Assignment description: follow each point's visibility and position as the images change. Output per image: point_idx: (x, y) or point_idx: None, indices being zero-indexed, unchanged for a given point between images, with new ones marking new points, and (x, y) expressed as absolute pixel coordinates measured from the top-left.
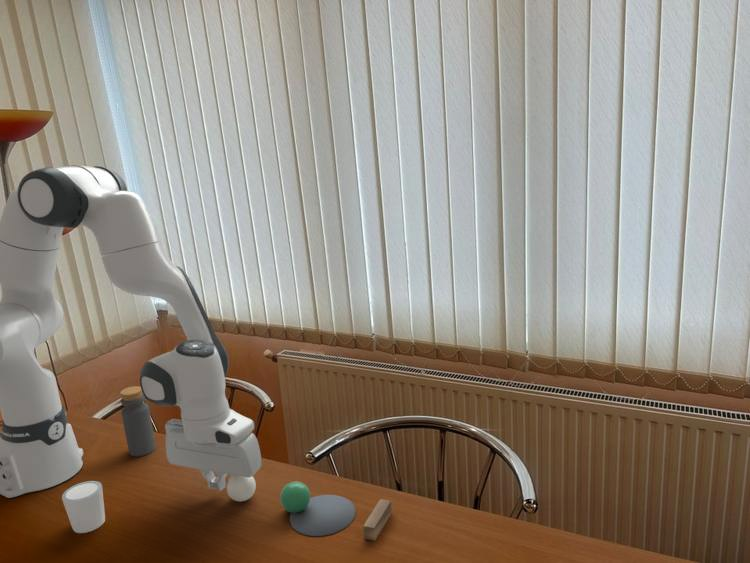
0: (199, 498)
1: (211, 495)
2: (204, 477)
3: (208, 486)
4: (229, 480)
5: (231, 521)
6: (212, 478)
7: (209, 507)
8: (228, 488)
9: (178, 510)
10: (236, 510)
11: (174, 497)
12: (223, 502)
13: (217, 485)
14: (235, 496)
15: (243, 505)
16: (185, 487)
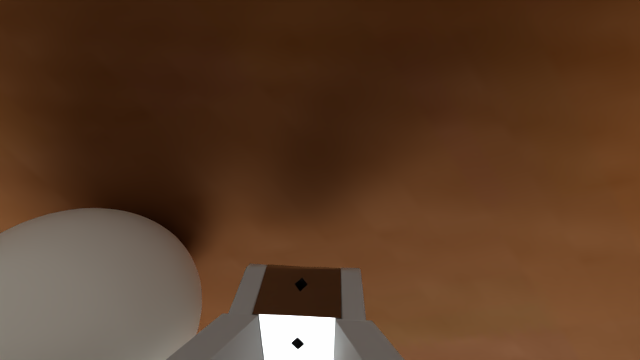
0: (417, 197)
1: (355, 237)
2: (395, 355)
3: (356, 277)
4: (60, 355)
5: (5, 26)
6: (337, 352)
7: (285, 131)
8: (74, 270)
9: (512, 30)
10: (89, 148)
11: (617, 167)
12: (233, 197)
13: (258, 293)
14: (44, 218)
15: (95, 199)
16: (574, 267)
